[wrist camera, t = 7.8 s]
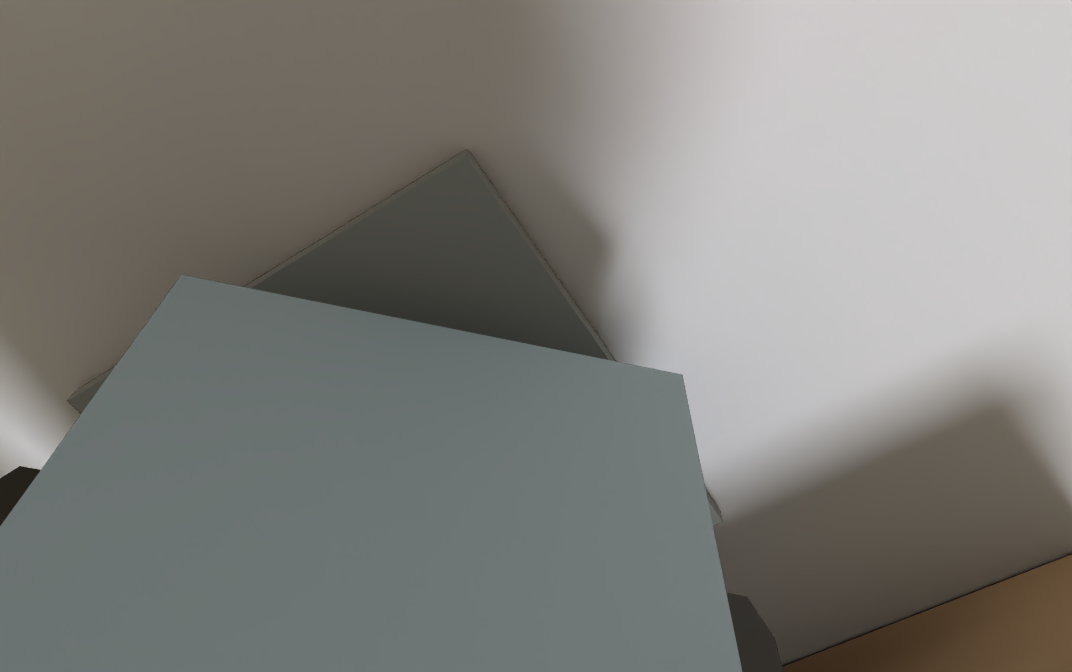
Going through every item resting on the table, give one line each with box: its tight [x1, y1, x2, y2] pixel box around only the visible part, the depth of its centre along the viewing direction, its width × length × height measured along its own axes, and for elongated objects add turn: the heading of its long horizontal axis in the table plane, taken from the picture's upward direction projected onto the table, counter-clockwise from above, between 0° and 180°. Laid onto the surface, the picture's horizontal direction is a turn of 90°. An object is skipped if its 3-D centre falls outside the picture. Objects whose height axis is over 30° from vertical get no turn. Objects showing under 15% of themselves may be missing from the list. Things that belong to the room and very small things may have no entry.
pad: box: [67, 149, 723, 526], centre depth 12 cm, size 6×6×1 cm
